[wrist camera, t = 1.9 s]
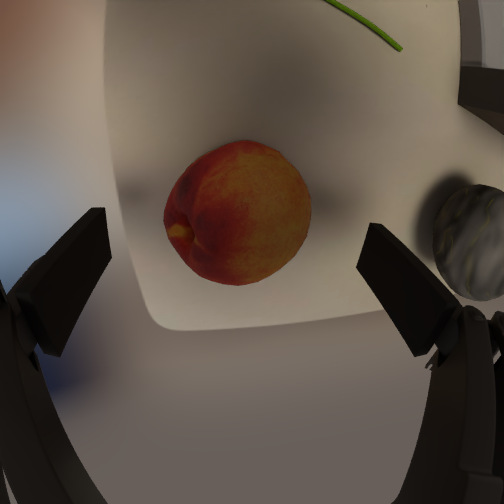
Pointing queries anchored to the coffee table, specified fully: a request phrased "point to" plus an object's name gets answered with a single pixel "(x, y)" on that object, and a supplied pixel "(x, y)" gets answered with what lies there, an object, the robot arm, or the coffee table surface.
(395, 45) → the decorative flower
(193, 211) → the fruit
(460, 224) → the decorative stone
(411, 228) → the coffee table surface
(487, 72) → the tray with tall back
